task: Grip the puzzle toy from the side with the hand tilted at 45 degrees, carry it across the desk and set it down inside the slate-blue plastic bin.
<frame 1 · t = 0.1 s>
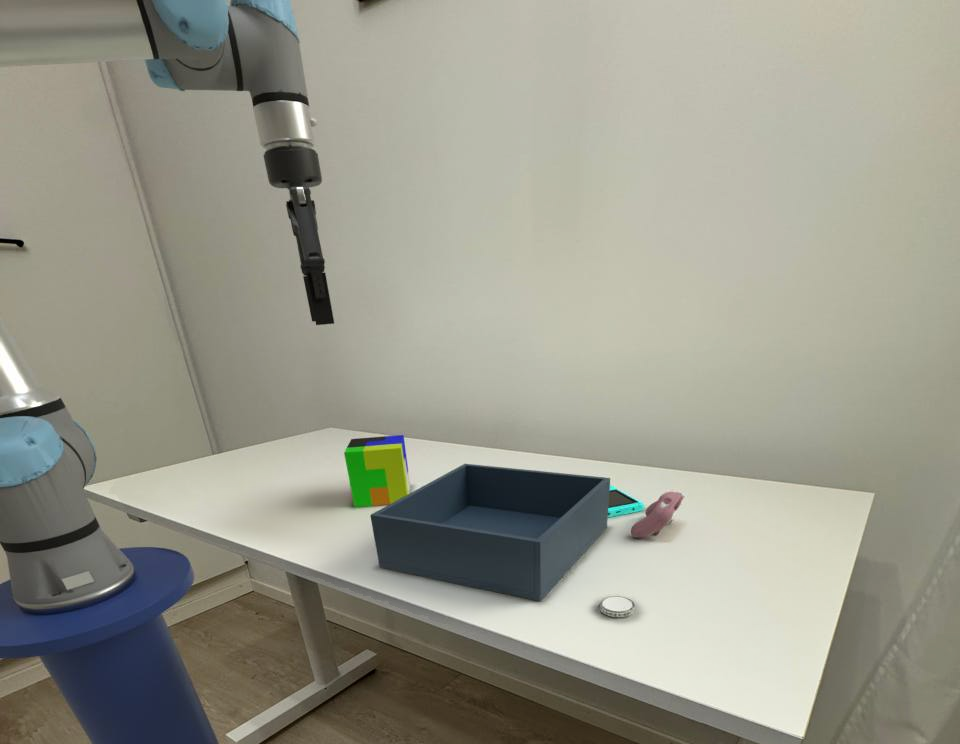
hand: (322, 322, 90), 30 cm above the table, tool pointing down, fingers open, 13 cm apart
white grey disc: (616, 609, 67), on the table
handheld game console: (595, 502, 98), on the table
puzzle toy: (383, 497, 107), on the table
video game controller: (656, 530, 86), on the table
bin: (497, 546, 84), on the table
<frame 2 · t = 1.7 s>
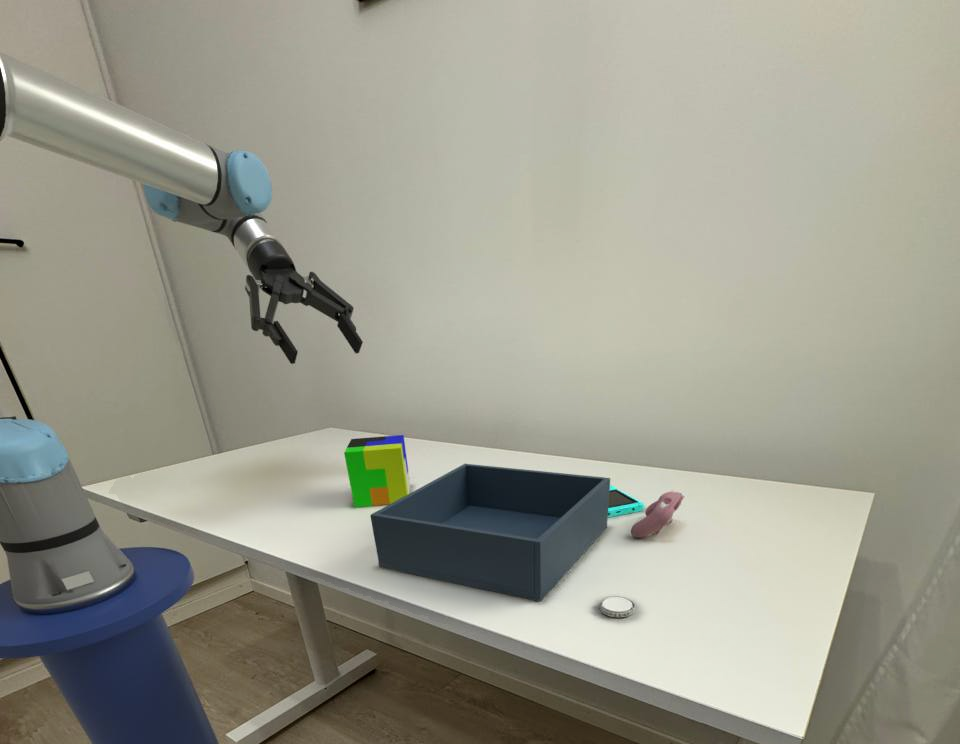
hand: (328, 352, 100), 25 cm above the table, tool tilted 45°, fingers open, 13 cm apart
nothing on the table moved.
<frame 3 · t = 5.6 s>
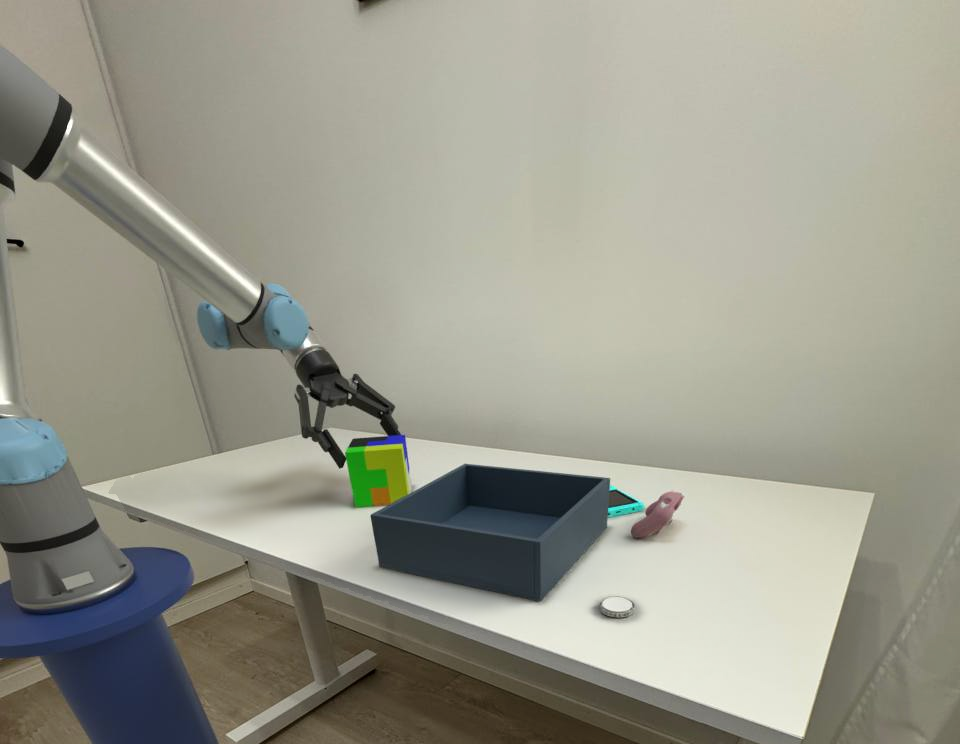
hand: (373, 454, 104), 8 cm above the table, tool tilted 45°
puzzle toy: (384, 497, 107), on the table, touching gripper
everything else where it was.
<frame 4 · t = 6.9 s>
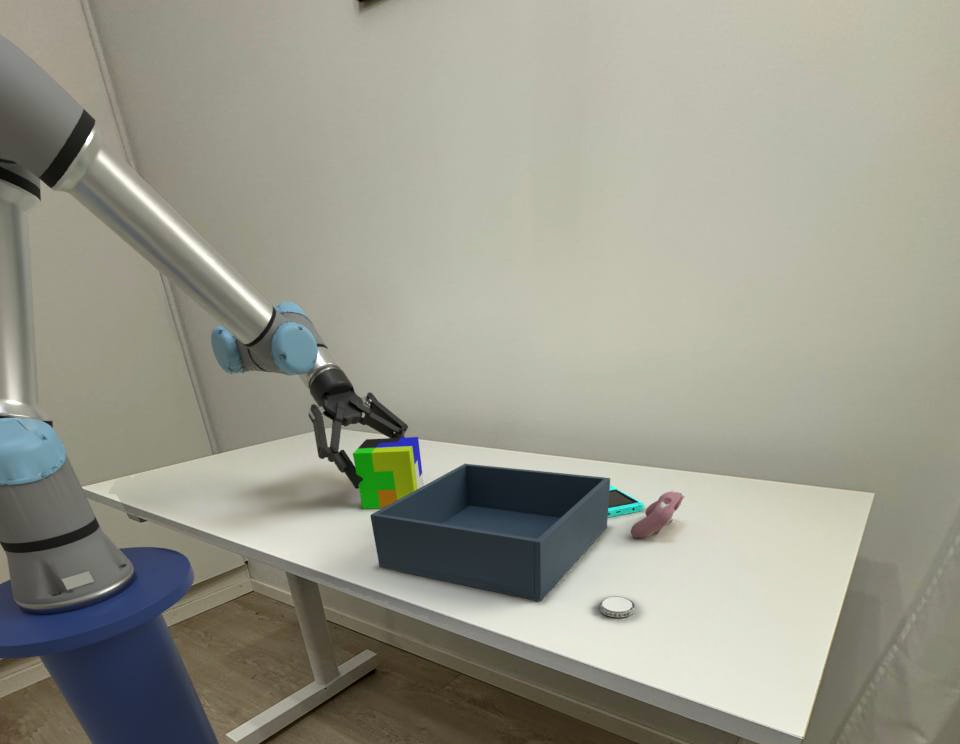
hand: (387, 475, 103), 5 cm above the table, tool tilted 45°, fingers closed on puzzle toy, 12 cm apart
puzzle toy: (394, 499, 106), on the table, touching gripper
everything else where it was.
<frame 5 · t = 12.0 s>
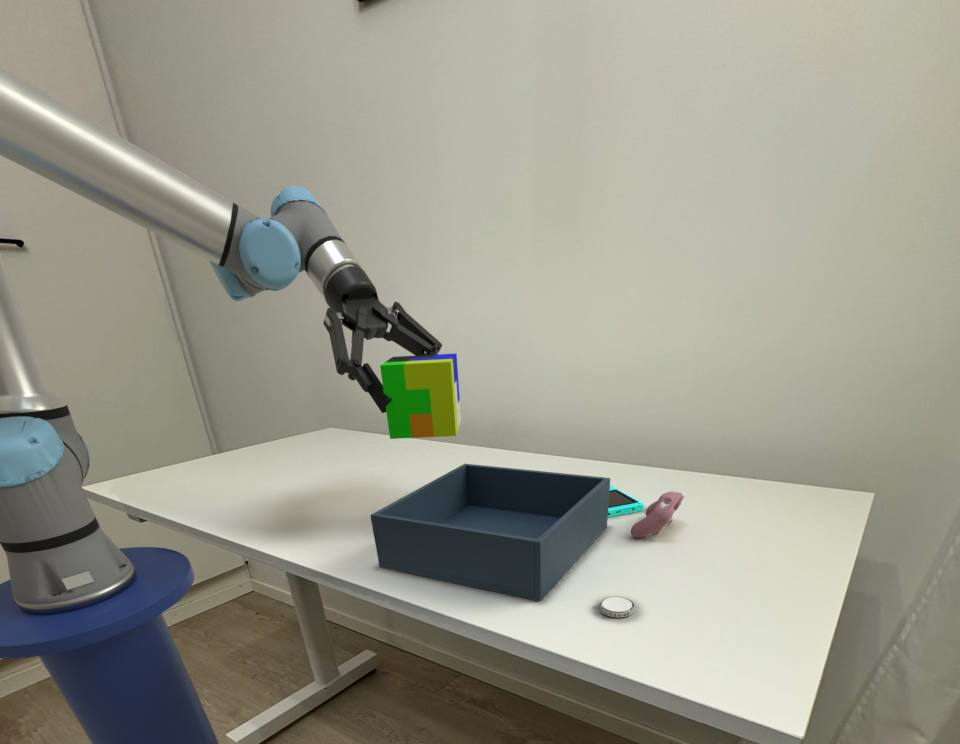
hand: (420, 398, 85), 19 cm above the table, tool tilted 45°, fingers closed on puzzle toy, 12 cm apart
puzzle toy: (427, 431, 87), point 15 cm above the table, touching gripper
everything else where it was.
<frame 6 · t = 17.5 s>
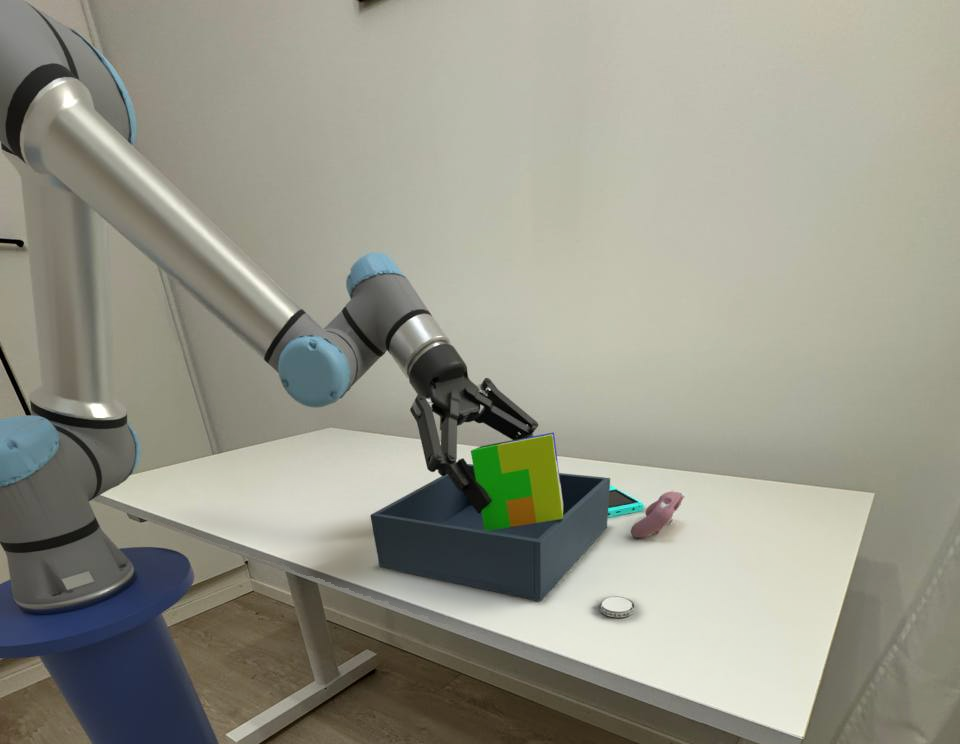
hand: (519, 492, 74), 10 cm above the table, tool tilted 45°, fingers closed on puzzle toy, 12 cm apart
puzzle toy: (526, 519, 75), point 7 cm above the table, touching bin, gripper
everything else where it was.
when the fingers open (8 cm above the table, at t = 19.8 s): puzzle toy drops 4 cm, resting on bin.
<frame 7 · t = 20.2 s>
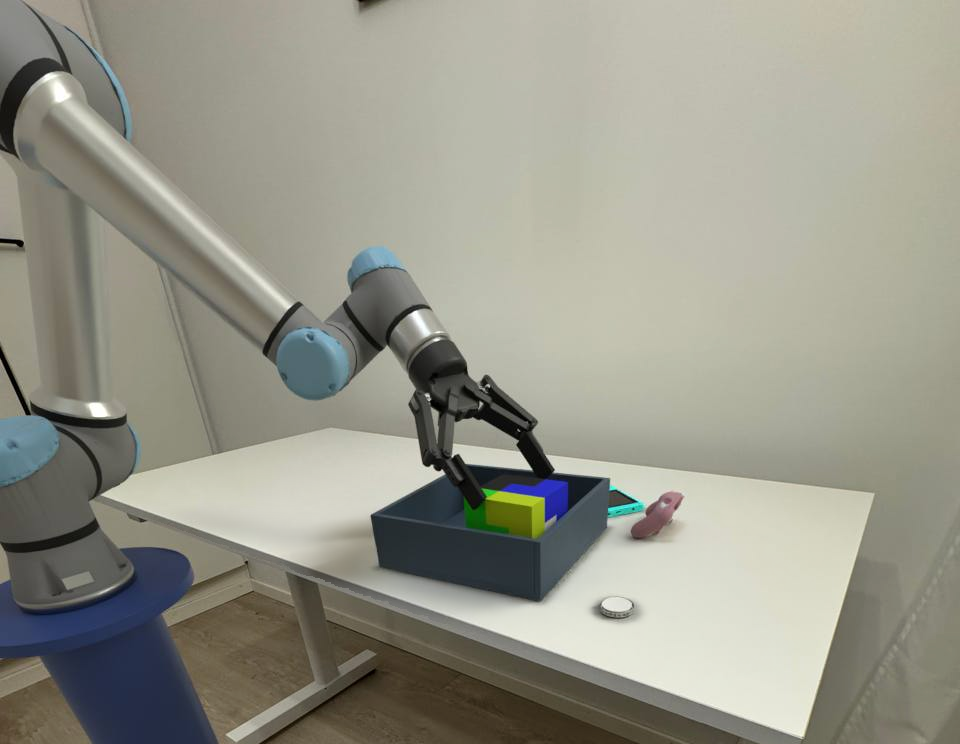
hand: (515, 489, 73), 11 cm above the table, tool tilted 45°, fingers open, 13 cm apart
puzzle toy: (518, 560, 78), point 1 cm above the table, touching bin
everything else where it was.
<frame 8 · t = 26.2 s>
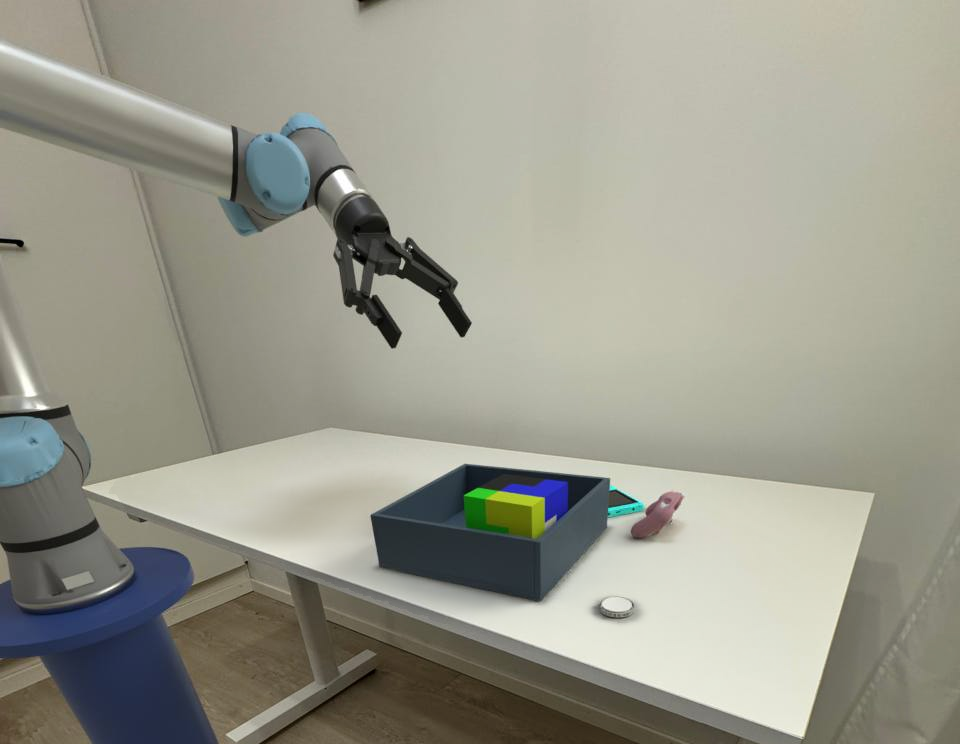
hand: (433, 335, 81), 28 cm above the table, tool tilted 45°, fingers open, 13 cm apart
nothing on the table moved.
at the end: puzzle toy inside the target area in the bin (7.3 cm from its centre), point 0.8 cm above the bin's base; the gripper is holding nothing; puzzle toy tilted 0° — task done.
